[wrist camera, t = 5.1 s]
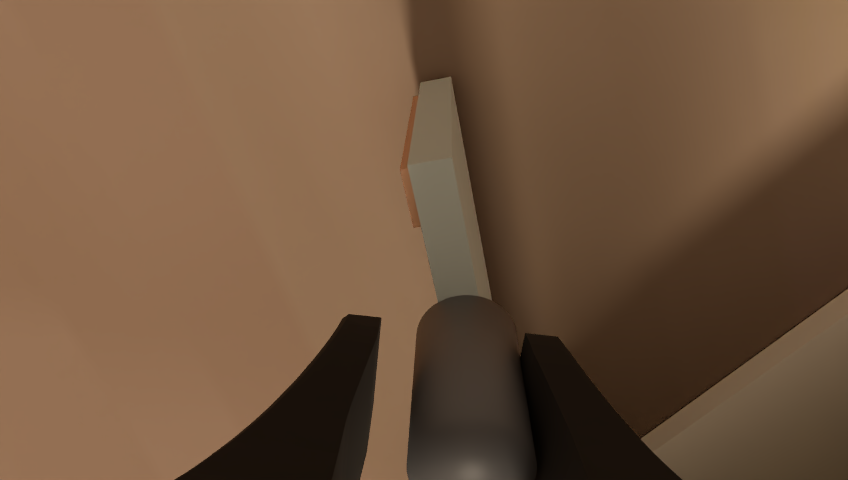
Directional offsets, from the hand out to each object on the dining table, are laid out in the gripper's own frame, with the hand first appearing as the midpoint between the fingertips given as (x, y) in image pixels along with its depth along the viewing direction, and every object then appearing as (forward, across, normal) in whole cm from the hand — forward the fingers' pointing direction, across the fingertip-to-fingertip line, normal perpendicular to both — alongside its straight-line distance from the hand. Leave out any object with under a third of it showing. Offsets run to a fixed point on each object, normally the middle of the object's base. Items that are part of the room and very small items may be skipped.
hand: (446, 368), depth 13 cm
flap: (+7, -2, +4) cm, 8 cm away
